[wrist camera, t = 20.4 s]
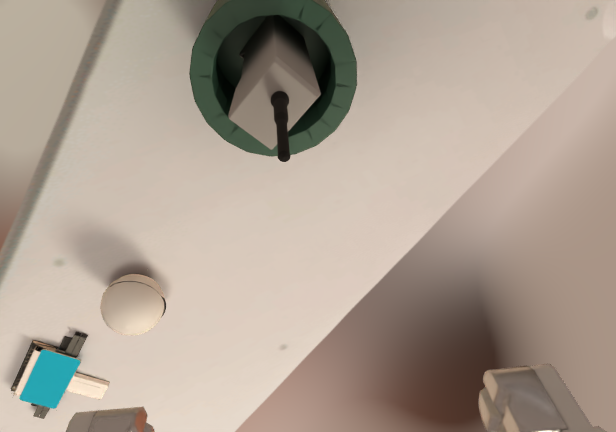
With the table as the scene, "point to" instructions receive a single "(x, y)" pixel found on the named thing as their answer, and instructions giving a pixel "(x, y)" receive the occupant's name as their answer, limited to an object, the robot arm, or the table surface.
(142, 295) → the cream domed seamed part
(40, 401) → the phone stand
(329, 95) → the green hollow cylinder
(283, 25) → the vintage mobile phone
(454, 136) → the table surface
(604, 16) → the table surface
